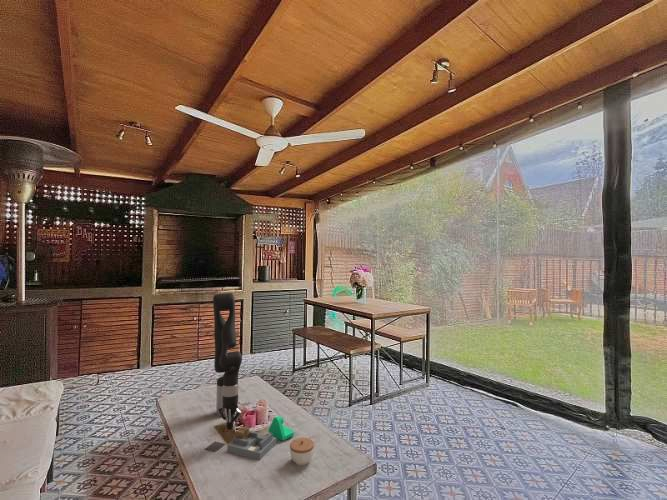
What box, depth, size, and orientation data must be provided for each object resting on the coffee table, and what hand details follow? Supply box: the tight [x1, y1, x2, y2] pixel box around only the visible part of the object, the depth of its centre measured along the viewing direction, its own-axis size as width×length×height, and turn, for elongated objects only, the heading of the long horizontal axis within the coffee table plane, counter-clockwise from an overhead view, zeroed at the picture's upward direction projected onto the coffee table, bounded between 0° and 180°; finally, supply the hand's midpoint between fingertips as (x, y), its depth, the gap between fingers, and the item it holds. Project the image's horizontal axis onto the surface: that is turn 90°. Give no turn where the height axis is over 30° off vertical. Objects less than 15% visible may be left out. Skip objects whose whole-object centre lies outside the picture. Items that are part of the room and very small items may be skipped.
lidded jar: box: [289, 437, 315, 467], centre depth 148 cm, size 11×11×9 cm
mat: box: [204, 441, 226, 453], centre depth 159 cm, size 7×6×1 cm
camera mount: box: [268, 415, 295, 442], centre depth 170 cm, size 12×8×10 cm, turn 46°
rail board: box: [226, 430, 277, 460], centre depth 159 cm, size 14×18×6 cm
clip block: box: [235, 426, 250, 440], centre depth 161 cm, size 5×4×4 cm
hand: (229, 429), depth 163 cm, fingers closed
